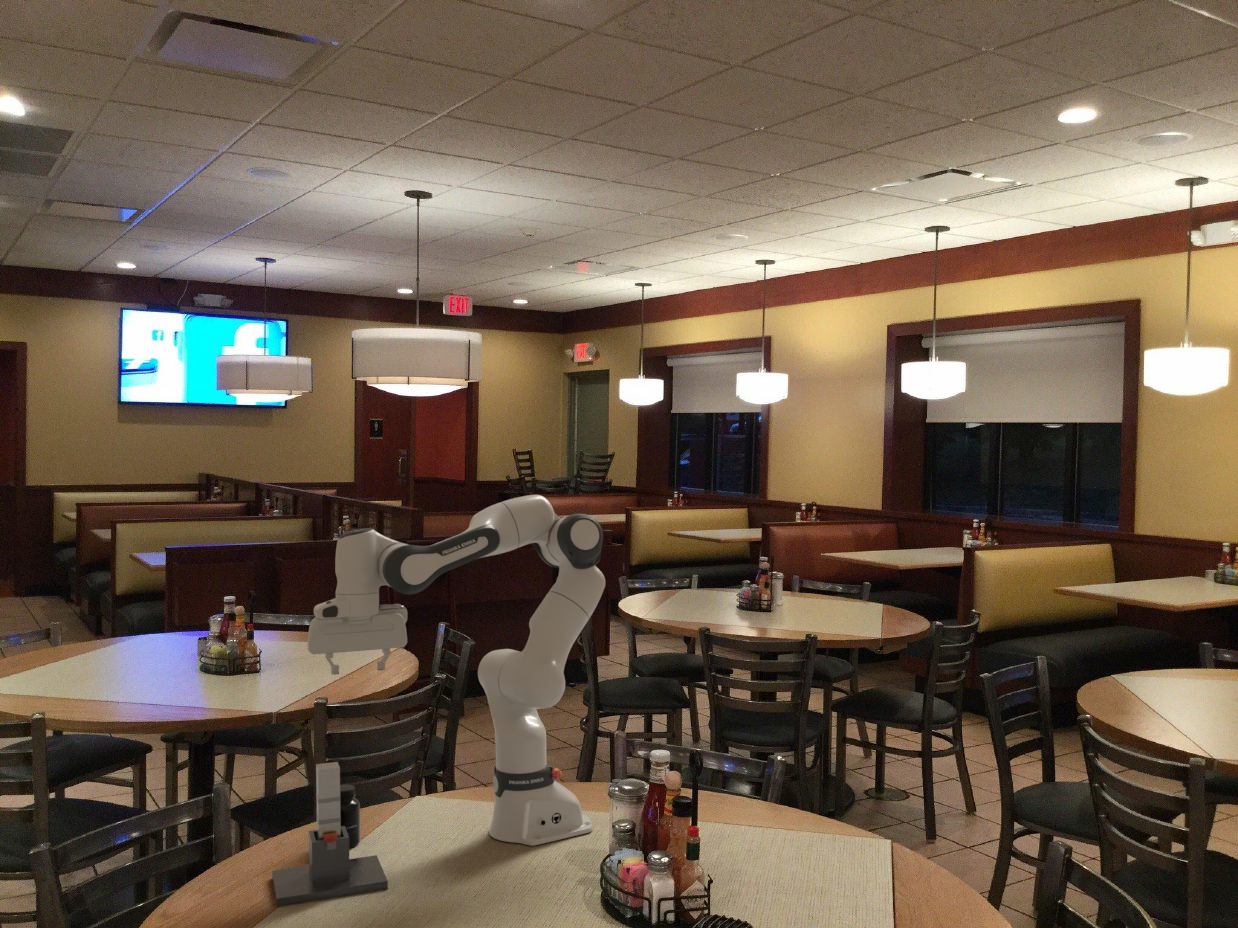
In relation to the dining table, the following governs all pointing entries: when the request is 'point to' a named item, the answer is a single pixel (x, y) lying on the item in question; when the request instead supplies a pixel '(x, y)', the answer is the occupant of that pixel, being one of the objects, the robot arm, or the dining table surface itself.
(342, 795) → the supplement bottle
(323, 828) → the column
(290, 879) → the stand
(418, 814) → the dining table surface
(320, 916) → the dining table surface
